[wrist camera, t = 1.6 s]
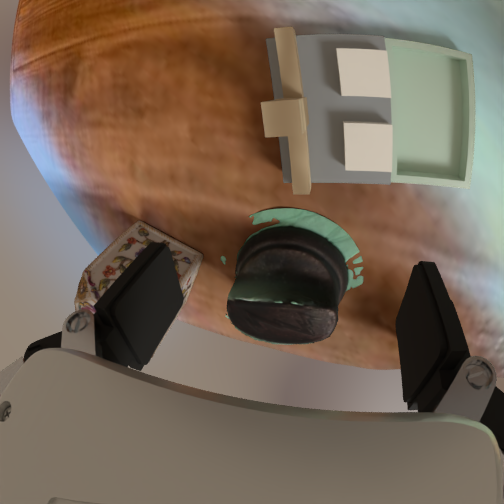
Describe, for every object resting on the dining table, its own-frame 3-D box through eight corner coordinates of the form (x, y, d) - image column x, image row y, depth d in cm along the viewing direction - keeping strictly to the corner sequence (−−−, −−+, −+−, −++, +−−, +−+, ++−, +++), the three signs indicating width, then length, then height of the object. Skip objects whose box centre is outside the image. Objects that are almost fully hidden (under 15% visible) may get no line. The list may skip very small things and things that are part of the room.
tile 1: (383, 52, 18) (387, 50, 17) (388, 97, 20) (391, 98, 19) (335, 50, 19) (336, 48, 18) (340, 95, 21) (341, 95, 20)
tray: (463, 55, 16) (471, 54, 15) (462, 182, 24) (469, 188, 22) (378, 41, 19) (382, 37, 17) (385, 175, 27) (389, 182, 25)
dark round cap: (240, 321, 46) (223, 365, 39) (206, 215, 36) (172, 253, 29) (361, 323, 40) (361, 372, 32) (362, 202, 30) (371, 245, 22)
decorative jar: (139, 216, 39) (56, 292, 25) (206, 252, 40) (140, 349, 25) (131, 269, 46) (70, 342, 32) (187, 301, 47) (136, 386, 32)
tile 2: (389, 123, 21) (392, 124, 20) (388, 167, 24) (391, 172, 23) (342, 121, 23) (343, 122, 22) (344, 166, 25) (345, 170, 24)
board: (378, 41, 19) (384, 36, 17) (385, 175, 27) (390, 184, 25) (271, 43, 22) (265, 38, 20) (287, 174, 30) (283, 182, 28)
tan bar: (299, 30, 19) (284, 3, 12) (315, 187, 27) (307, 229, 20) (273, 33, 19) (246, 9, 12) (291, 187, 28) (275, 228, 21)
